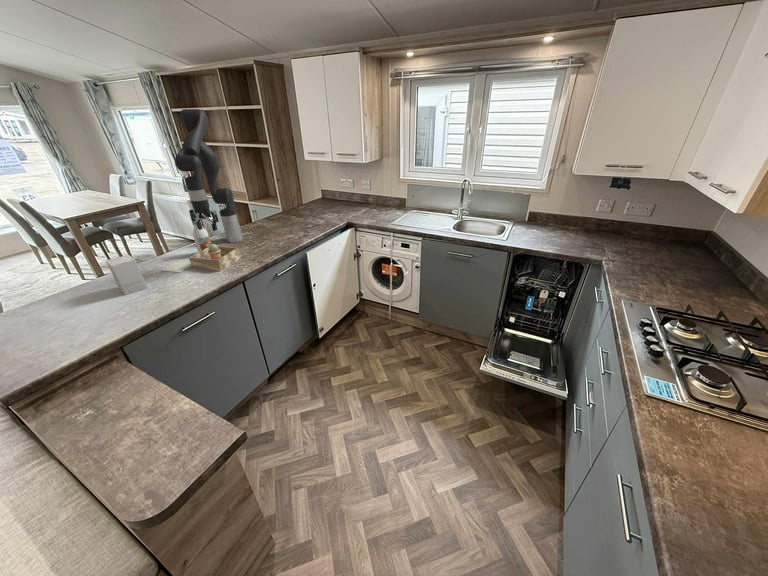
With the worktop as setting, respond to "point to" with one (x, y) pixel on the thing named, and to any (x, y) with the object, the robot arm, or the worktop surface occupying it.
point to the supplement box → (127, 274)
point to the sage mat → (177, 267)
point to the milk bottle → (201, 238)
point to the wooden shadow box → (204, 261)
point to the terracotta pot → (214, 252)
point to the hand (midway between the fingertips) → (207, 229)
